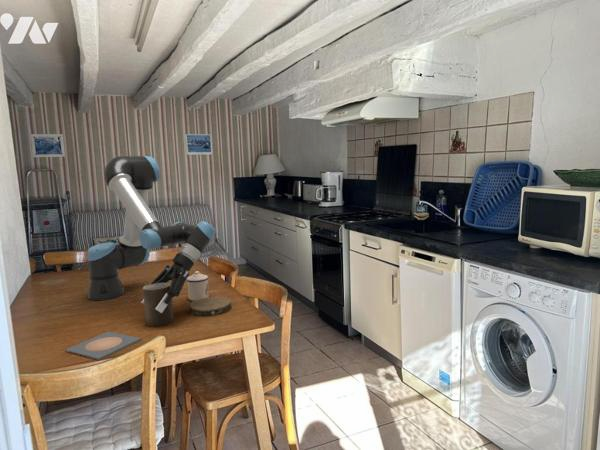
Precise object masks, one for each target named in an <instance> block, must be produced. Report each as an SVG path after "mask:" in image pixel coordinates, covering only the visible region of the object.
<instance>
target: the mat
mask: <svg viewBox="0 0 600 450" xmlns="http://www.w3.org/2000/svg"><path fill="white" fill-rule="evenodd" d="M140 341H142V338H141V337H136V336H132V335H127V334H123V333H118V332H113V331H107V332H103V333H102V334H99V335H97V336H95V337H92V338H90V339H87V340H85V341H82V342H79V343H78V344H76V345H72V346H69V348H66V349H64V352H65V351H69V352H72V353H71V354H73V353H76V354H79V355H78V356H80V355H82V356H81V357H84V356H86V357H85V358H88V357H89V359H93V360H96V361H100V360H102V359H105V358H107V357H109V356H111V355H113V354H115V353H118V352H119V351H122V350H124V349H126V348H128V347H130V346H132V345H134V344H136V343H138V342H140ZM69 352H68V353H69ZM76 354H75V355H76Z"/></svg>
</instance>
